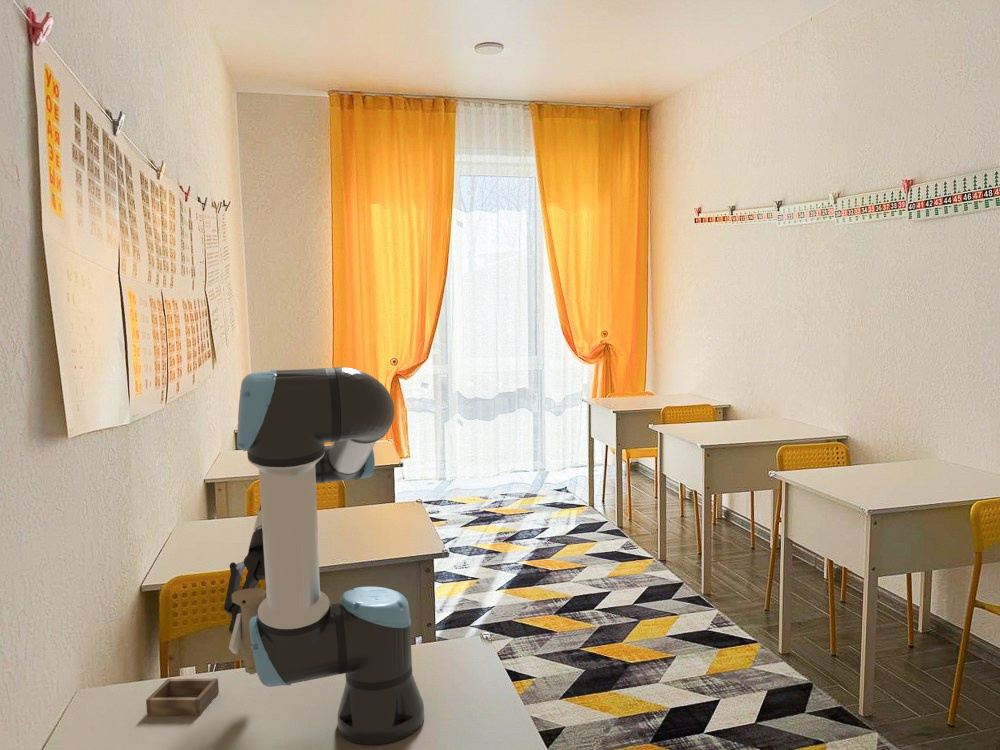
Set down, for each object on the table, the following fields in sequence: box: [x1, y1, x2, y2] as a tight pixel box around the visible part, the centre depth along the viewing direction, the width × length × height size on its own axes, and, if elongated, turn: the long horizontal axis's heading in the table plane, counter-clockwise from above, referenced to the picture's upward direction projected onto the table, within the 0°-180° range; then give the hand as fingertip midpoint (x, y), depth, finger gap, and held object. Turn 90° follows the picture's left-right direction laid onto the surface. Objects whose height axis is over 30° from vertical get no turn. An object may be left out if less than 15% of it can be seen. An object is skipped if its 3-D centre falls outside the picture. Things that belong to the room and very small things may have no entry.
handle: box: [232, 587, 266, 675], centre depth 136 cm, size 5×6×15 cm
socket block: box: [145, 677, 220, 717], centre depth 138 cm, size 10×8×3 cm
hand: (244, 650), depth 133 cm, fingers closed on handle, 3 cm apart
